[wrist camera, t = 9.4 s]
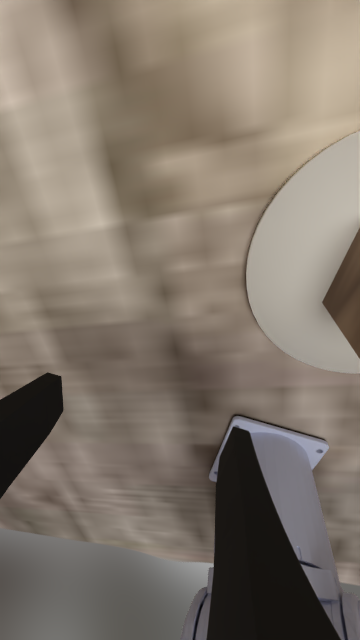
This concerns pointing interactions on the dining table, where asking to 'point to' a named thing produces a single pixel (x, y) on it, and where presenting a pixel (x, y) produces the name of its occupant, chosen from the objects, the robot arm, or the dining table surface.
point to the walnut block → (347, 296)
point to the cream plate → (307, 257)
